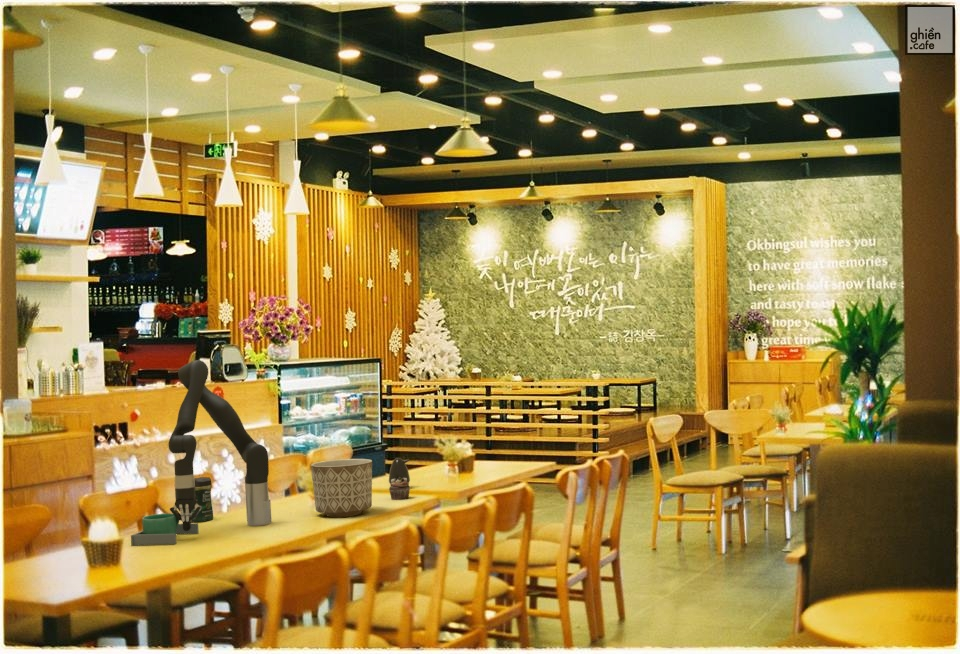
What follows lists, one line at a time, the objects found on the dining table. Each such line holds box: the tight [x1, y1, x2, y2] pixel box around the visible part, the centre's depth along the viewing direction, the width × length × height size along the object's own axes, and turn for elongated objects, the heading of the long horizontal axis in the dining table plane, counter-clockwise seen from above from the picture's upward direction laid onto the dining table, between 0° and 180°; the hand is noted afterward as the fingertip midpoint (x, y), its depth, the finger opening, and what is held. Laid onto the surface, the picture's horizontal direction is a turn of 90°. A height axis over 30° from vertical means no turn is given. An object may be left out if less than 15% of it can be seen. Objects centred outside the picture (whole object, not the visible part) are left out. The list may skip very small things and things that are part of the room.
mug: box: [142, 513, 180, 534], centre depth 450 cm, size 17×13×10 cm
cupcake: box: [388, 477, 411, 501], centre depth 526 cm, size 10×10×10 cm
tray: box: [130, 522, 200, 547], centre depth 450 cm, size 18×23×4 cm
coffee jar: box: [191, 476, 214, 523], centre depth 493 cm, size 10×8×19 cm
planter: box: [310, 458, 373, 518], centre depth 490 cm, size 26×26×22 cm
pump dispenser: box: [388, 457, 411, 487], centre depth 559 cm, size 10×10×15 cm
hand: (187, 530), depth 448 cm, fingers closed
